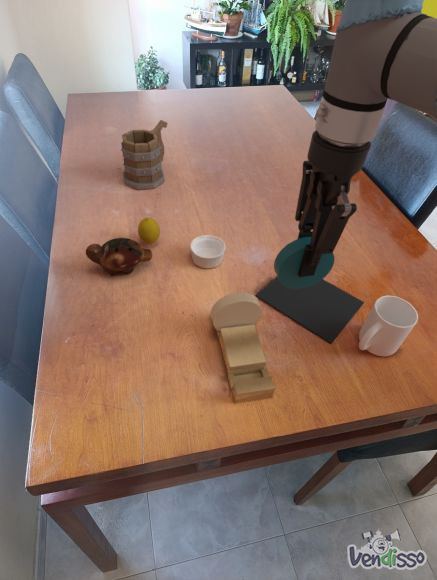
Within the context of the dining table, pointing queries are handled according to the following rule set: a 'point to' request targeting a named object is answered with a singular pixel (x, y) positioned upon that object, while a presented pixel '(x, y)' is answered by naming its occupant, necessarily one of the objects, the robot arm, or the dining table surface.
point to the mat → (313, 306)
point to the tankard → (143, 157)
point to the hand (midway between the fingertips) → (302, 268)
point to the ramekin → (207, 251)
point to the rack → (245, 364)
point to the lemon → (148, 230)
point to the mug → (387, 325)
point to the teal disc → (291, 261)
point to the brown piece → (118, 255)
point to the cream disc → (236, 311)
